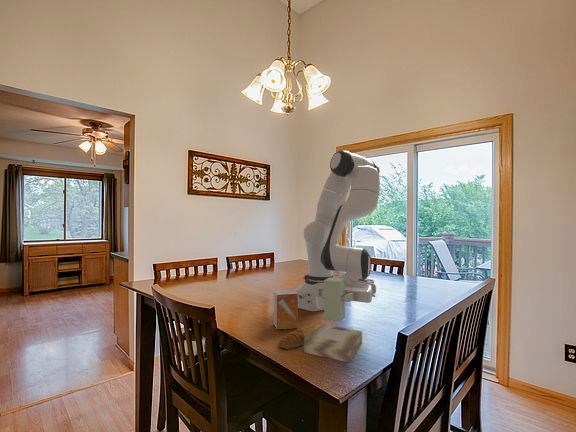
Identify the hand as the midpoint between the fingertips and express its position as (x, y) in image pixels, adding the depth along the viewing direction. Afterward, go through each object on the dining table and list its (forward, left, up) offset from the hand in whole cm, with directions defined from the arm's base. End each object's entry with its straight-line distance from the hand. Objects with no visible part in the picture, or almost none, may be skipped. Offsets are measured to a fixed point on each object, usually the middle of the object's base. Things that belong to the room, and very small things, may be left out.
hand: (333, 297), depth 93 cm
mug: (-5, +72, -16) cm, 74 cm away
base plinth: (0, +1, -16) cm, 16 cm away
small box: (-22, +10, -16) cm, 29 cm away
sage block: (0, +1, -6) cm, 7 cm away
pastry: (-13, -2, -16) cm, 21 cm away
